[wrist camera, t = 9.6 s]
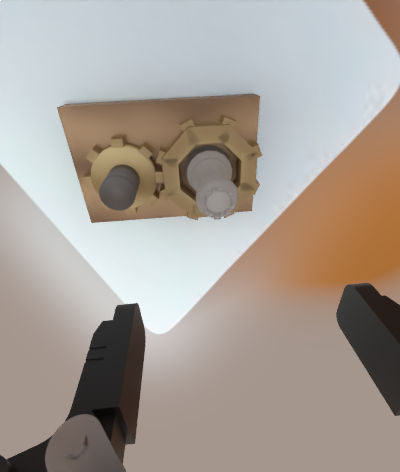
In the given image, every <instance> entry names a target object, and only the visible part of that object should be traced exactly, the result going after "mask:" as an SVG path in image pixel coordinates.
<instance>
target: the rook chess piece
mask: <svg viewBox="0 0 400 472" xmlns="http://www.w3.org/2000/svg"><path fill="white" fill-rule="evenodd" d="M185 174H186V177H187V180H188V183H189V185H190V186H191V187H192V188H193V189H194V190H195V191H197V193H196V204H197V207H198V209H199V210H200V211H201V212H202V213H203V214H204V215H207V216H209V217H214V219H221V218H220V217H222V216H225V215H226V216H227V217H228V216H229V215H230V214H231V213H232V211H233V210H234V208H235V207H236V205H237V203H238V198H239V193H238V190H237V187H236V186H235V185H234V183H233V182H232V181H230V180H231V176H232V166H231V162H230V159H229V157H228V156H227V154H226V153H225V152H224V151H223V150H221V149H219V148H217V147H215V146H204V147H201V148H198V149H196V150H195V151H194V152H193V153H192V154H191V155H190V156H189V157H188V160H187V162H186V164H185Z"/></svg>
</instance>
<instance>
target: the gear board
mask: <svg viewBox="0 0 400 472" xmlns="http://www.w3.org/2000/svg"><path fill="white" fill-rule="evenodd" d="M259 99H260V96H258V95H255V94H244V95H226V96H208V97H190V98H173V99H155V100H137V101H119V102H101V103H83V104H66V105H63V106H60V107H57V109H58V112H59V115H60V119H61V122H62V125H63V129H64V132H65V135H66V139H67V142H68V145H69V149H70V152H71V155H72V159H73V162H74V165H75V169H76V172H77V175H78V179H79V182H80V185H81V189H82V192H83V195H84V199H85V202H86V205H87V209H88V212H89V216H90V219H91V222H92V223H95V222H109V221H122V220H136V219H149V218H162V217H176V216H187V217H188V218H192V219H195V220H198V217H208V216H207V215H204V214H203V213H202V212H201V211H200V210H199V209H198V207H197V204H196V193H197V191H195V190H194V189H193V188H192V187H191V186H190V185H189V183H188V180H187V177H186V174H185V164H186V162H187V160H188V157H189V156H190V155H191V154H192V153H193V152H194V151H195V150H196V149H198V148H201V147H204V146H215V147H217V148H219V149H221V150H223V151H224V152H225V153H226V154H227V156H228V157H229V159H230V162H231V166H232V176H231V180H230V181H232V182H233V183H234V185H235V186H236V187H237V190H238V193H239V198H238V203H237V205H236V207H235V208H234V210H233V211H232V213H231V214H230V215H232V214H234V212H243V211H252V201H253V194H254V195H255V193H256V191H257V189H258V187H259V185H260V184H259V183H258V181H257V180H256V167H257V158H258V157H260V156H262V154H261V151H260V148H259V145H258V144H257V128H258V114H259ZM230 215H229V216H230ZM226 217H227V216H226V215H225V216H224V218H226Z"/></svg>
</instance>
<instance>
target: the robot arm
mask: <svg viewBox="0 0 400 472" xmlns="http://www.w3.org/2000/svg"><path fill="white" fill-rule="evenodd" d="M337 321H338V324H339V326H340V328H341V330H342V331H343V333H344V335H345V336H346V338H347V340H348V341H349V343H350V344H351V346H352V347H353V349H354V351H355V352H356V354H357V356H358V357H359V359H360V360H361V362H362V364H363V365H364V367H365V368H366V370H367V371H368V373H369V375H370V376H371V378H372V380H373V381H374V383H375V384H376V386H377V388H378V389H379V391H380V393H381V394H382V396H383V397H384V399H385V400H386V402H387V404H388V405H389V407H390V409H391V410H392V412H393V413H394V415H395V416H397V415H400V305H399V304H397V303H396V302H394V301H393V300H391V299H390V298H388V297H387V296H381V295H380V294H379V292H378V291H377V290H376V289H375V288H374V287H373V286H372V285H371V284H369V283H362V284H352V285H347V286H346V287H345V288H344V291H343V294H342V297H341V300H340V303H339V306H338V309H337ZM89 348H90V350H89V351H88V354H87V357H86V363H85V364H84V368H83V371H82V374H81V378H80V381H79V384H78V388H77V391H76V394H75V397H74V401H73V404H72V407H71V410H70V413H69V415H68V417H67V419H66V420H65V422H64V423H63V424H62V425H61V426H60V427H59V428H58V429H57V430H56V432H55V433H54V434H53V435H52V436H51V437H50V438H49V439H47V440H46V441H44V442H42V443H41V444H39V445H37V446H34V447H32V448H30V449H28V450H26V451H24V452H22V453H19V454H17V455H15V456H13V457H11V458H9V459H5V458H4V457H2V456H1V455H0V472H126V470H125V468H124V466H123V458H124V450H125V445H126V444H135V438H136V428H137V418H138V409H139V400H140V390H141V380H142V371H143V362H144V352H145V329H144V325H143V321H142V317H141V313H140V308H139V305H138V303H135V304H124V305H118V306H117V307H116V309H115V314H114V318H113V320H110V321H103V322H102V323H101V324H100V326H99V327H98V328H97V330H96V331H95V333H94V334H93V337H92V341H91V344H90V347H89Z"/></svg>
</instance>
